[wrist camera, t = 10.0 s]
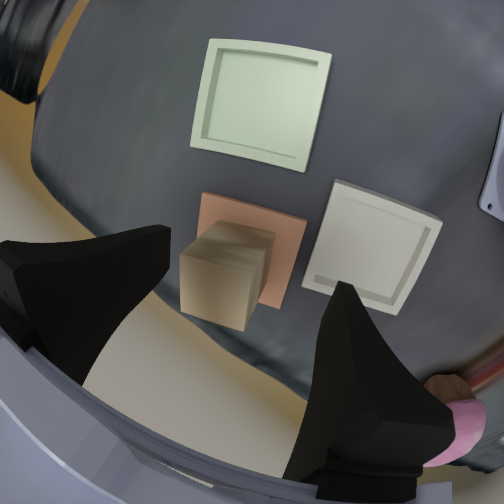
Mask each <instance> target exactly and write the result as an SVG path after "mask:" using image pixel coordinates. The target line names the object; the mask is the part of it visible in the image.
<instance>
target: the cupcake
mask: <svg viewBox="0 0 504 504" xmlns="http://www.w3.org/2000/svg"><path fill="white" fill-rule="evenodd" d="M423 386H424V387H425V388H426V389H427V390H428V391H429V392H430V393H431V394H433V395H434V396H435V397H436V398H438V399H439V400H440V401H441V402H443V403H444V404H445V405H446V406H448V407H449V408H450V409H451V410H452V411H453V417H454V424H455V431H456V437H455V440H454V441H453V443H452V444H451V445H450V447H449V448H448V449H446V450H445V451H444V452H443V453H441V454H440V455H438V456H437V457H435V458H433V459H432V460H430V461H429V462H427V463H425V464H424V465H423V466H424V467H432V466H439V465H442V464H445V463H448V462H450V461H453V460H455V459H457V458H459V457H460V456H463V455H465V454H466V453H468V452H469V451H470V450H471V449H472V448H473V446H474V445H475V444H476V443H477V442H478V441H479V440H480V438H481V436H482V434H483V431H484V427H485V422H486V410H485V406H484V403H483V402H482V401H481V400H479V399H476V397H475V395H474V393H473V391H472V390H471V388H470V386H469V385H468V384H467V382H466V381H465V380H463V379H462V378H460V377H458V376H457V375H456V374H451V375H440V374H437V375H434V376H432V377H430V378H429V379H428V380H427V382H426V383H425V384H424V385H423Z"/></svg>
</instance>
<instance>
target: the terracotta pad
mask: <svg viewBox="0 0 504 504" xmlns="http://www.w3.org/2000/svg"><path fill="white" fill-rule="evenodd" d="M218 220H224V221H228V222H233V223H237V224H241V225H246V226H250V227H254V228H259V229H263V230H267V231H271V232H276V233H275V239H274V245H273V250H272V256H271V261H270V267H269V272H268V278H267V283H266V285H265V287H264V289H263V291H262V294H261V296H260V298H259V300H258V302H259V303H262V304H265V305H268V306H271V307H274V308H277V309H280V306H281V303H282V300H283V297H284V294H285V291H286V288H287V285H288V282H289V279H290V276H291V273H292V270H293V266H294V263H295V260H296V257H297V254H298V250H299V247H300V244H301V241H302V237H303V234H304V231H305V227H306V224H307V220H306V219H302V218H299V217H296V216H293V215H289V214H286V213H282V212H279V211H276V210H272V209H269V208H265V207H262V206H258V205H255V204H251V203H248V202H244V201H240V200H237V199H233V198H229V197H226V196H222V195H218V194H214V193H211V192H207V191H204V192H202V198H201V206H200V214H199V222H198V231H197V238H198V237H199V236H200V235H202V234H203V233H204V232H205V231H206V230H207V229H208V228H210V227H211V226H212V225H213V224H214V223H215V222H217V221H218Z"/></svg>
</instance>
